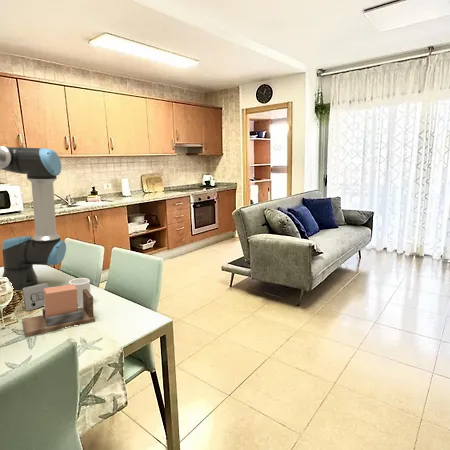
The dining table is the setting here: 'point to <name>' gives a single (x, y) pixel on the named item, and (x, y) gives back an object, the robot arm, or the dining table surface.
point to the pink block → (60, 300)
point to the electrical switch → (34, 296)
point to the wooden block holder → (60, 318)
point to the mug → (80, 288)
